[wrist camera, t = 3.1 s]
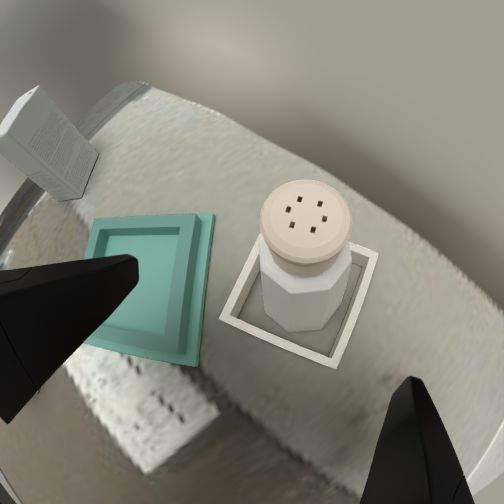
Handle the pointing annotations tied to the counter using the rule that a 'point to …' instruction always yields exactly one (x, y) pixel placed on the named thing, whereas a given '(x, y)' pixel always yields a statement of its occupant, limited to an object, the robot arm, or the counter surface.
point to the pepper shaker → (304, 254)
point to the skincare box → (46, 146)
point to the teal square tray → (157, 284)
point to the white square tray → (231, 312)
